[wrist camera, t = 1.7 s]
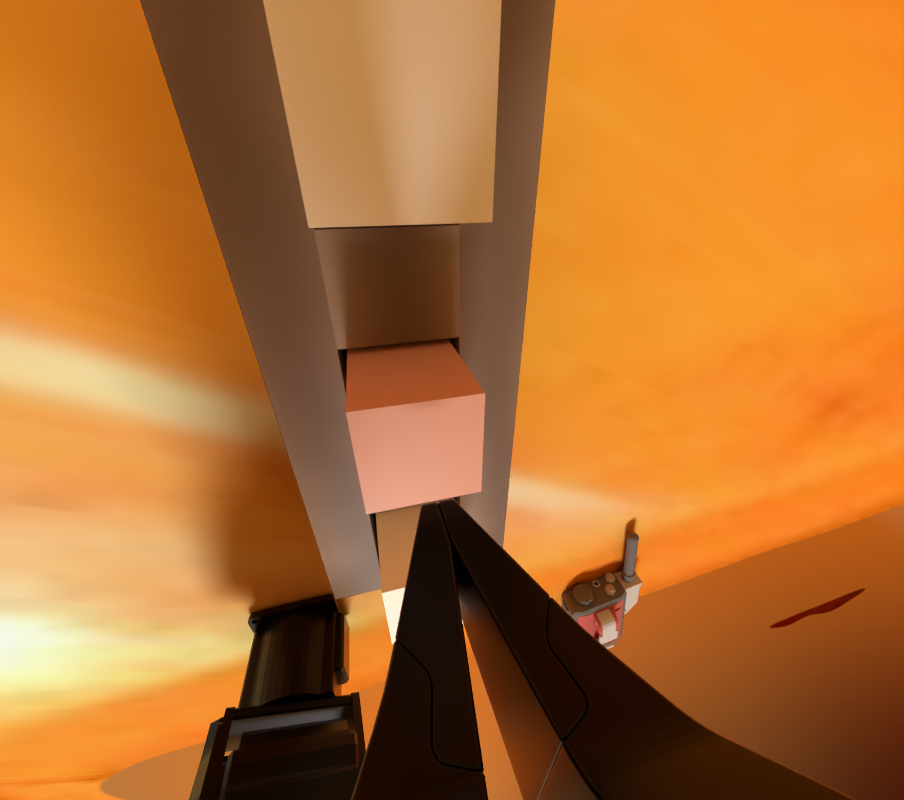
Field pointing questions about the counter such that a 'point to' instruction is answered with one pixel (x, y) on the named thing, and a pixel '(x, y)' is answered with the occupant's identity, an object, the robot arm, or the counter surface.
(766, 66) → the counter surface
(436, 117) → the cream plug
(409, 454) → the plug terracotta
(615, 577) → the walkie-talkie
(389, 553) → the cream plug
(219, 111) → the socket board
